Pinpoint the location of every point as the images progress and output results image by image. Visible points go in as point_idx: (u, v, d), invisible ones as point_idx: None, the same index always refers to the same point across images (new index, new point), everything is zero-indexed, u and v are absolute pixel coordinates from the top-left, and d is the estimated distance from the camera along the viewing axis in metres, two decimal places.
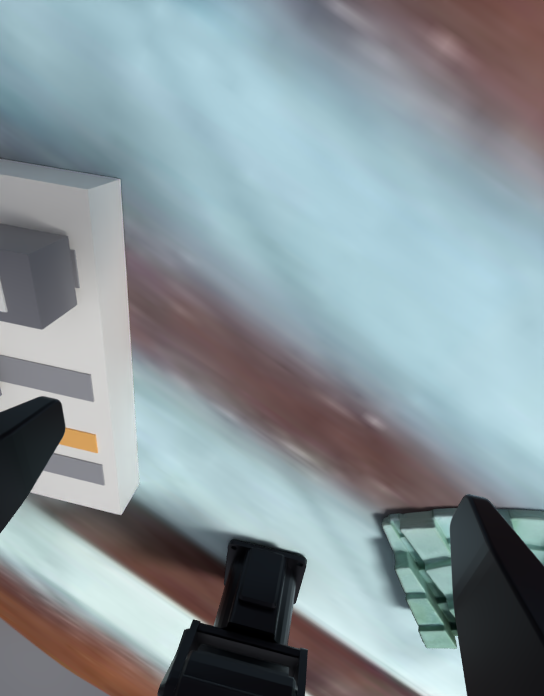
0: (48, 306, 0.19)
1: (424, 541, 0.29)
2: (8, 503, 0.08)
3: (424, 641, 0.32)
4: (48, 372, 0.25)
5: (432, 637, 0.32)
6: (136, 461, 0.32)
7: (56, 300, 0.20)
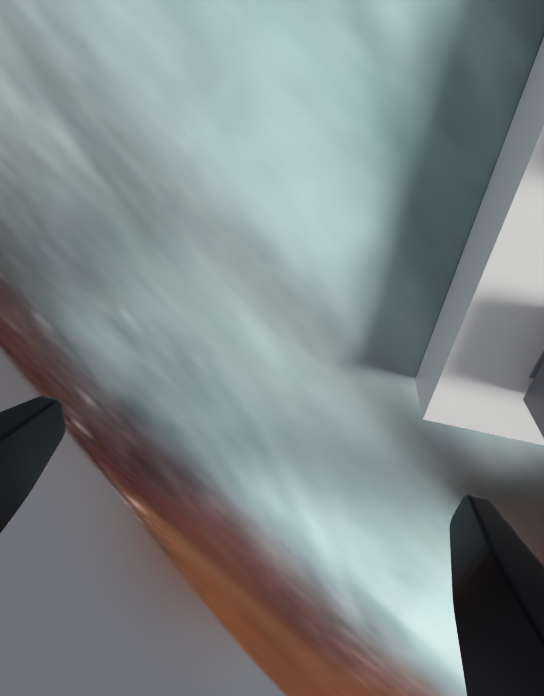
0: None
1: None
2: (8, 503, 0.08)
3: None
4: None
5: None
6: None
7: None
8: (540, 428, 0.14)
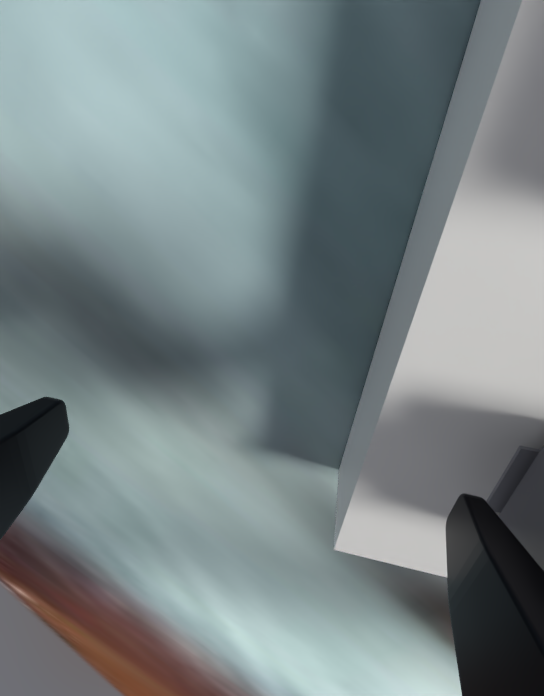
0: None
1: None
2: (12, 504, 0.08)
3: None
4: None
5: None
6: None
7: None
8: None
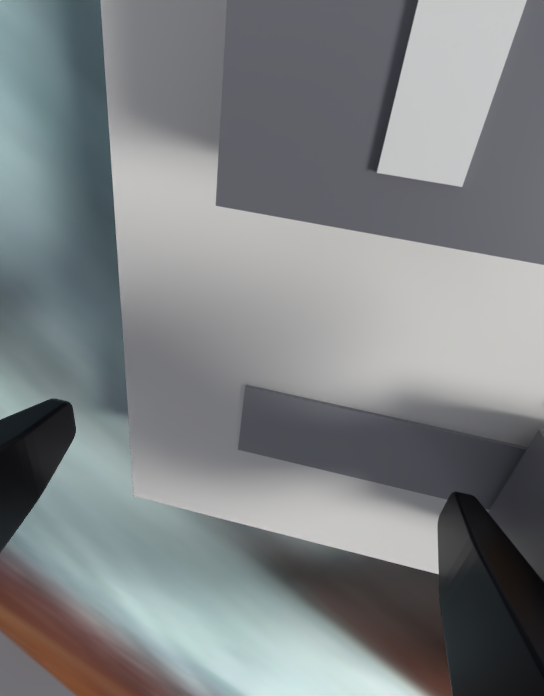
0: None
1: None
2: (21, 506, 0.08)
3: None
4: None
5: None
6: None
7: None
8: None
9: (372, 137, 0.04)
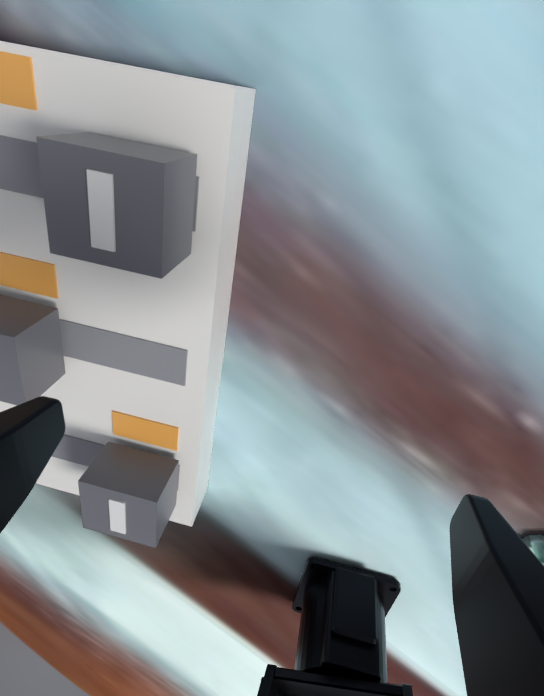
0: (170, 247, 0.14)
1: None
2: (8, 503, 0.08)
3: None
4: (130, 346, 0.20)
5: None
6: (209, 462, 0.26)
7: (177, 241, 0.15)
8: None
9: None
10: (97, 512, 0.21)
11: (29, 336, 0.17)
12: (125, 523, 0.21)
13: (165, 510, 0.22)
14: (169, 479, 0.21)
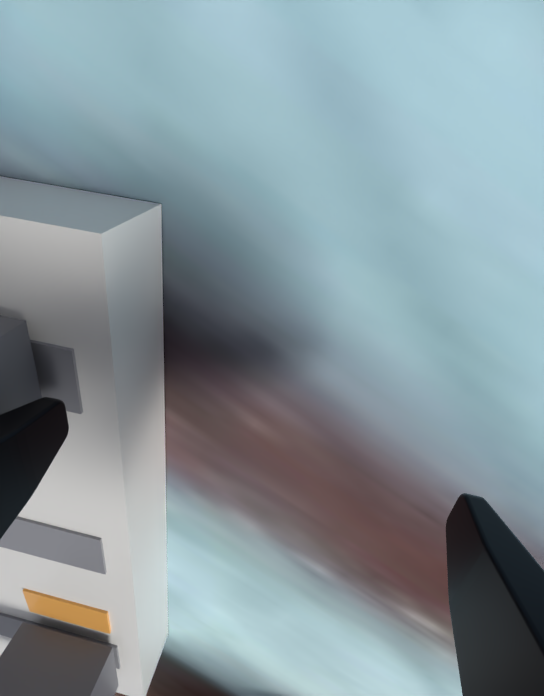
0: None
1: None
2: (13, 504, 0.08)
3: None
4: (28, 529, 0.15)
5: None
6: (166, 612, 0.21)
7: None
8: None
9: None
10: None
11: None
12: None
13: None
14: (96, 684, 0.16)
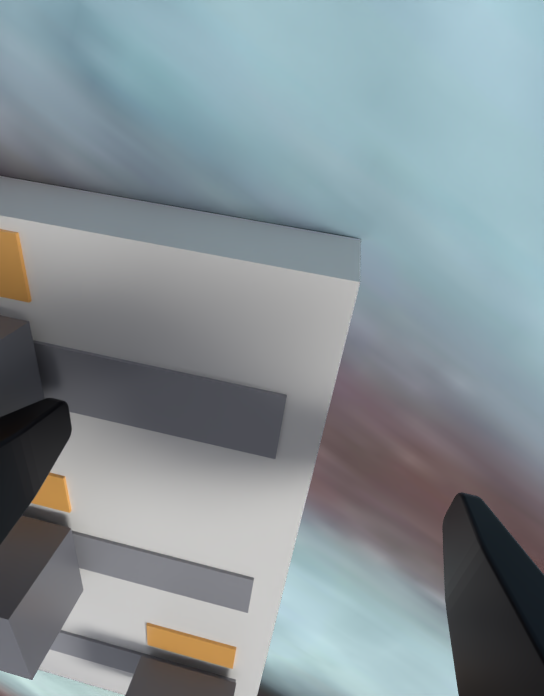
0: None
1: None
2: (16, 505, 0.08)
3: None
4: (172, 566, 0.14)
5: None
6: None
7: None
8: None
9: None
10: None
11: (32, 596, 0.12)
12: None
13: None
14: None
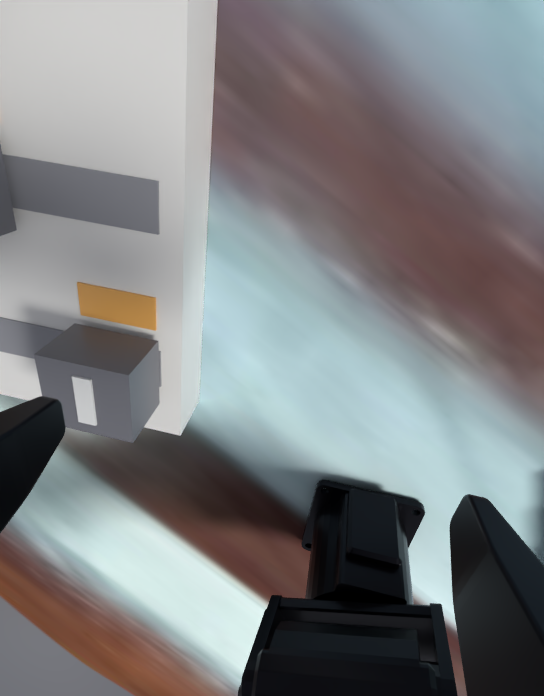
0: None
1: None
2: (8, 503, 0.08)
3: None
4: (90, 184, 0.16)
5: None
6: (199, 364, 0.23)
7: None
8: None
9: None
10: (61, 399, 0.18)
11: None
12: (95, 410, 0.18)
13: (143, 398, 0.18)
14: (146, 357, 0.18)
